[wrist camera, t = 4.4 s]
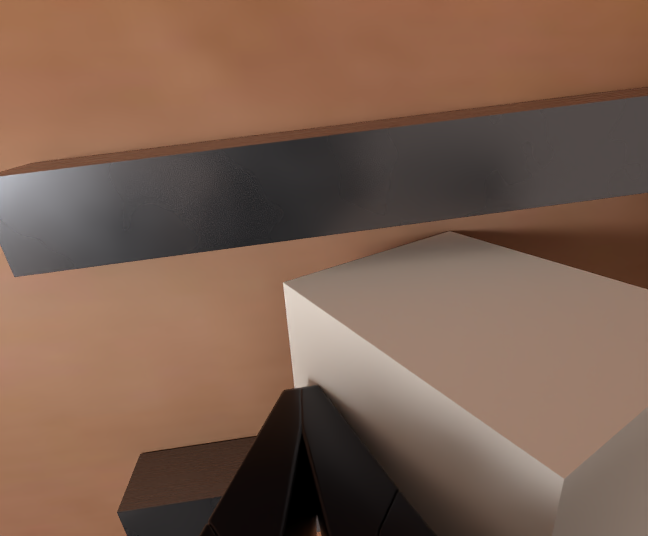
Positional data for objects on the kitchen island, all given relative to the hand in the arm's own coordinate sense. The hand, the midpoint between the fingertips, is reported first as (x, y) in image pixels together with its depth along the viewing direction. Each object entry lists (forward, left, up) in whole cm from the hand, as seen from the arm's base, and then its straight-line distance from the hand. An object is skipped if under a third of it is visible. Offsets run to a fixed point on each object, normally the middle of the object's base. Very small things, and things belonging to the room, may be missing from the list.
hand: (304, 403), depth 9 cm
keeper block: (0, -2, -2) cm, 3 cm away
